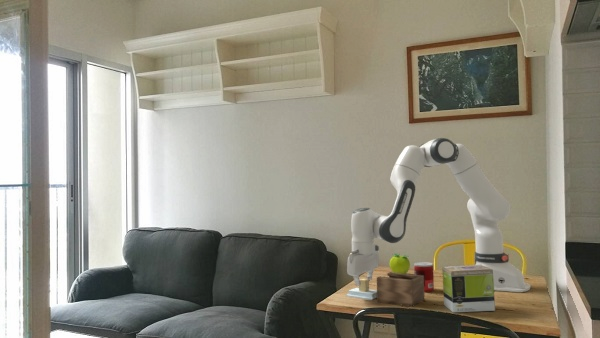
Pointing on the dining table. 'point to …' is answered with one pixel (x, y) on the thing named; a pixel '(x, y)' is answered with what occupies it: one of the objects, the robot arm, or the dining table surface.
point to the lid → (363, 291)
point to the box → (400, 289)
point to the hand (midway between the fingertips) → (363, 283)
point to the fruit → (399, 264)
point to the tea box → (468, 288)
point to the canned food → (425, 274)
